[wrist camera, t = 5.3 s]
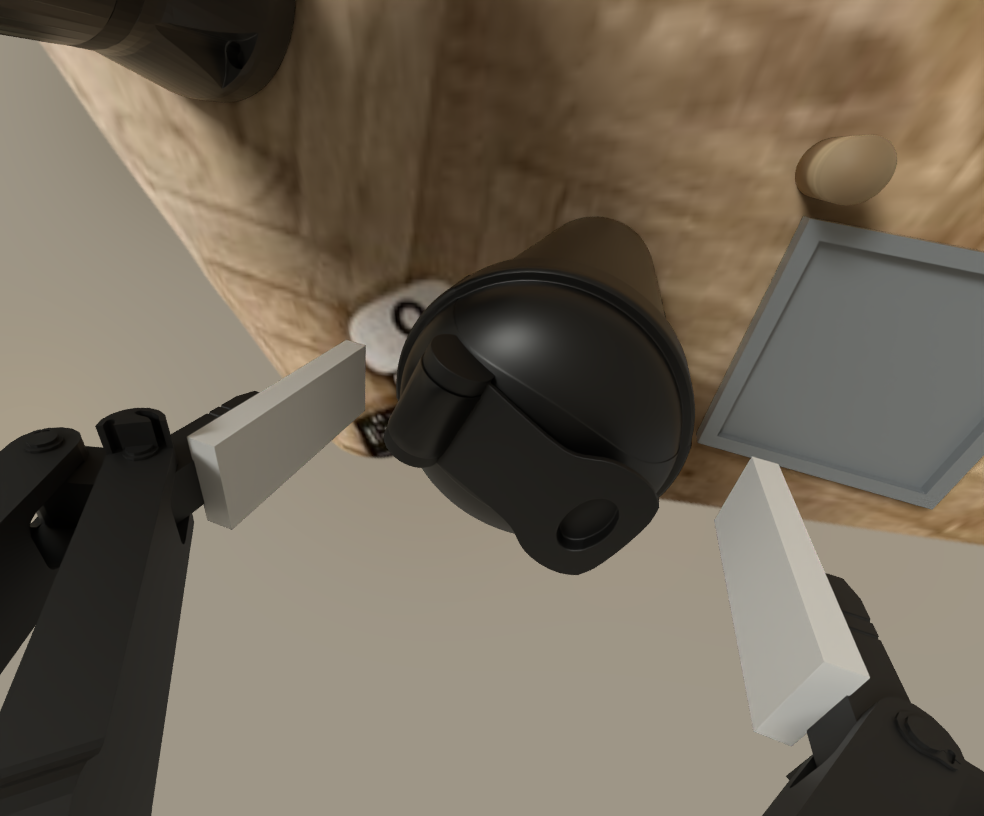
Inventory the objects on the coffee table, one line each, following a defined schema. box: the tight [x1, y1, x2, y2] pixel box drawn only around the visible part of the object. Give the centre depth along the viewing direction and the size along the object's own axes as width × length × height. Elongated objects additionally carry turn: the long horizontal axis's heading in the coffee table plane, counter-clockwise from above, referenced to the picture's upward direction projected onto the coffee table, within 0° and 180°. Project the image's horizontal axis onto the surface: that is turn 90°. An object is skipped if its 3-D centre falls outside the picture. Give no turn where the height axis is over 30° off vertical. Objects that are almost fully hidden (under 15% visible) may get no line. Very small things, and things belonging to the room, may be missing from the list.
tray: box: [696, 216, 984, 509], centre depth 29 cm, size 16×16×1 cm
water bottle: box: [384, 217, 695, 575], centre depth 22 cm, size 10×10×23 cm
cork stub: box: [795, 135, 897, 205], centre depth 23 cm, size 3×3×4 cm
